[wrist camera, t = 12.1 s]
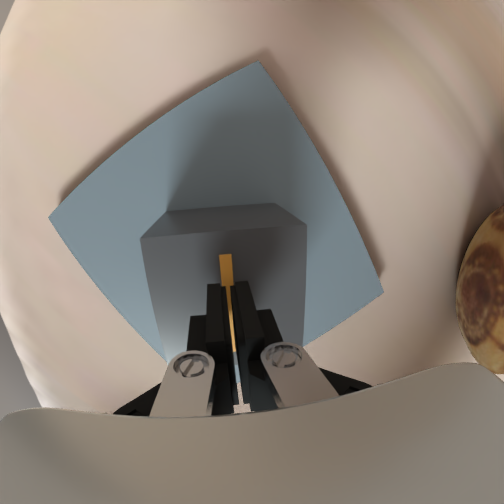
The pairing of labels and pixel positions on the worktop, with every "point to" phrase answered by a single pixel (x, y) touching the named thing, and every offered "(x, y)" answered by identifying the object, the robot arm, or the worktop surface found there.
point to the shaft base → (217, 198)
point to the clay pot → (484, 294)
